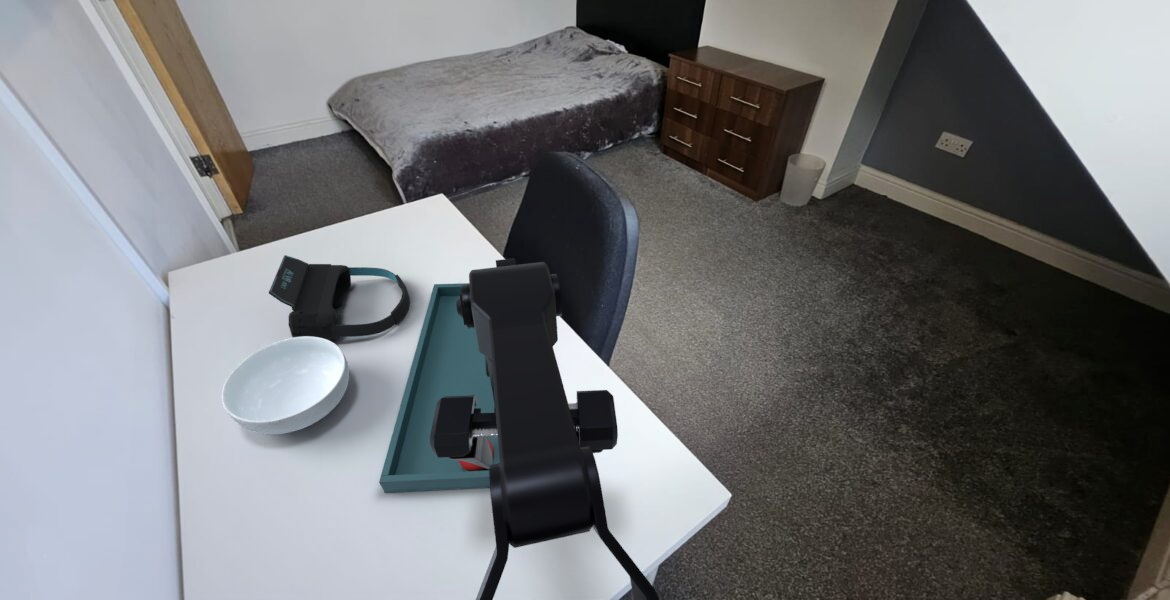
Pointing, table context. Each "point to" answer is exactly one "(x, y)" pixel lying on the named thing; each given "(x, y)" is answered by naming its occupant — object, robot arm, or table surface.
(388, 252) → the table surface
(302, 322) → the virtual reality headset
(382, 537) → the table surface
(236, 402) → the cereal bowl
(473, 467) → the apple
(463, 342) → the tray
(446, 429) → the robot arm
